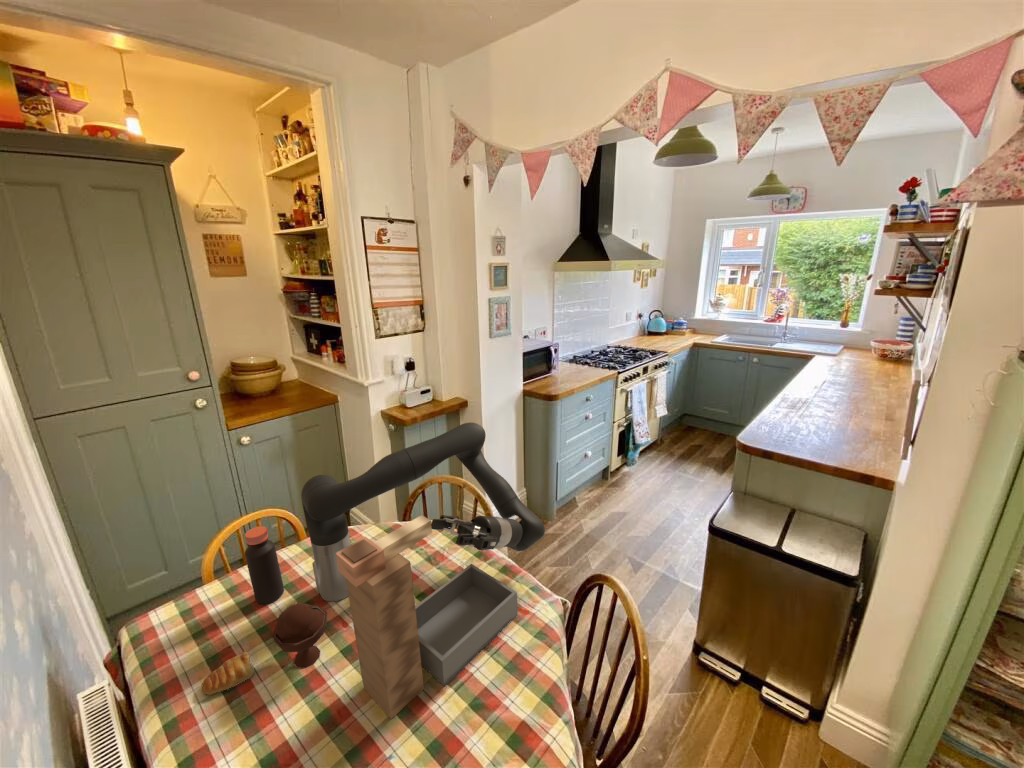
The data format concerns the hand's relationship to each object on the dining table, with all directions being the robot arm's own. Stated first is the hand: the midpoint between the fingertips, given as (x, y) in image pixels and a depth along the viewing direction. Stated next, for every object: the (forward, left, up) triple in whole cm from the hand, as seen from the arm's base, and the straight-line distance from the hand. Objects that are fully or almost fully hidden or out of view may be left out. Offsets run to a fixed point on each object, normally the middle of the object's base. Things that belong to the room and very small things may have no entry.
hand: (444, 531), depth 93 cm
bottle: (-53, -5, -29) cm, 60 cm away
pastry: (-40, -25, -29) cm, 56 cm away
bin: (+1, +2, -29) cm, 29 cm away
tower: (-6, -16, -29) cm, 34 cm away
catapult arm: (-5, -13, +3) cm, 14 cm away
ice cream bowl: (-29, -16, -29) cm, 44 cm away
